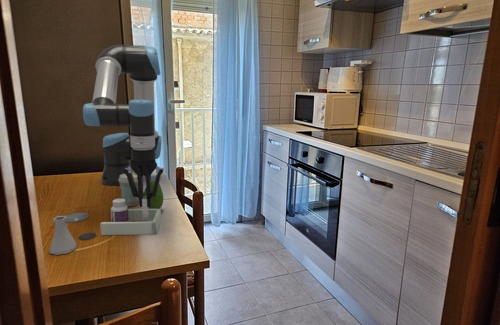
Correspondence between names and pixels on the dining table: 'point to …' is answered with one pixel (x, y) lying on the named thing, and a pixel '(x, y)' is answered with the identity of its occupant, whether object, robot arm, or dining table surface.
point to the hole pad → (87, 236)
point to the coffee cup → (128, 190)
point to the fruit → (156, 197)
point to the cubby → (133, 224)
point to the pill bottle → (119, 211)
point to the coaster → (76, 217)
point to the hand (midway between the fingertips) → (145, 215)
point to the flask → (62, 238)
